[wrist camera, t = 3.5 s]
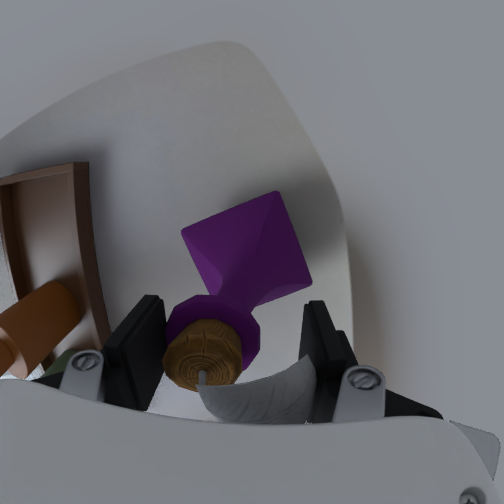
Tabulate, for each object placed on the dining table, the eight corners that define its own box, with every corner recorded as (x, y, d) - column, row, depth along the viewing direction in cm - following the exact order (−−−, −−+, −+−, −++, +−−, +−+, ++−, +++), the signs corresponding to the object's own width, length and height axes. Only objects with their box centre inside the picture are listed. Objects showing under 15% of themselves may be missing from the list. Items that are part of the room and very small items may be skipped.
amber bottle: (36, 278, 25) (-48, 336, 12) (73, 282, 25) (-19, 354, 12) (49, 324, 27) (-21, 391, 13) (85, 332, 27) (14, 414, 13)
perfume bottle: (225, 300, 25) (190, 493, 8) (188, 222, 23) (53, 347, 6) (305, 270, 24) (392, 446, 7) (274, 186, 22) (353, 238, 5)
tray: (10, 177, 22) (-5, 179, 20) (88, 161, 22) (73, 162, 20) (61, 387, 31) (54, 398, 28) (134, 407, 30) (128, 420, 28)
